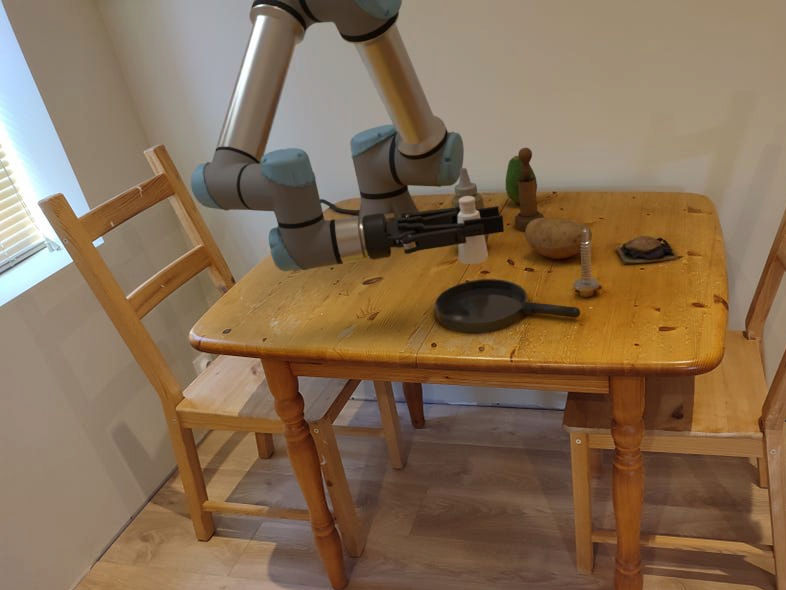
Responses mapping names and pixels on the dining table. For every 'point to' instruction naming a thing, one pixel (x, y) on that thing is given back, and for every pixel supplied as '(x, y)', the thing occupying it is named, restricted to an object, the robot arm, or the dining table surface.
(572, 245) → the potato
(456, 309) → the pan
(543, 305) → the pan handle
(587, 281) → the screw
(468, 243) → the salt shaker
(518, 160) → the avocado
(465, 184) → the squeeze bottle
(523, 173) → the mortar and pestle
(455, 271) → the dining table surface
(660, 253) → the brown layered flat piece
